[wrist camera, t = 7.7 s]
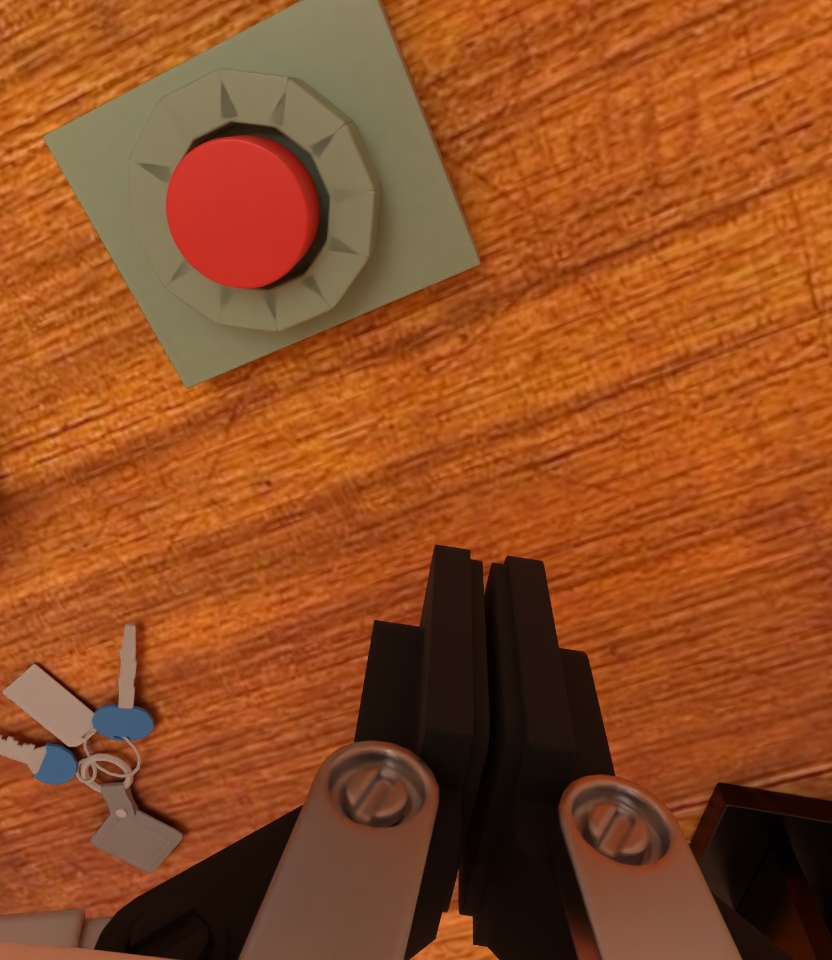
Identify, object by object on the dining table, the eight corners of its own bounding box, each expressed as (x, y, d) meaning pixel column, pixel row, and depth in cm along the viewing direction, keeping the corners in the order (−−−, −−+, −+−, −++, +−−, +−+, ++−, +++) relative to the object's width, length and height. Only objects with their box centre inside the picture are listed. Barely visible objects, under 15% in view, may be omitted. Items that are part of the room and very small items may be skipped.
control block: (372, -25, 21) (356, -47, 18) (479, 254, 24) (482, 276, 21) (68, 134, 24) (7, 139, 20) (201, 373, 27) (166, 409, 23)
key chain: (193, 865, 37) (187, 881, 36) (21, 860, 37) (12, 875, 37) (142, 616, 31) (134, 629, 30) (-62, 613, 31) (-75, 626, 31)
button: (281, 110, 20) (266, 111, 19) (343, 244, 22) (333, 256, 20) (161, 169, 21) (137, 175, 19) (227, 296, 22) (210, 310, 21)
